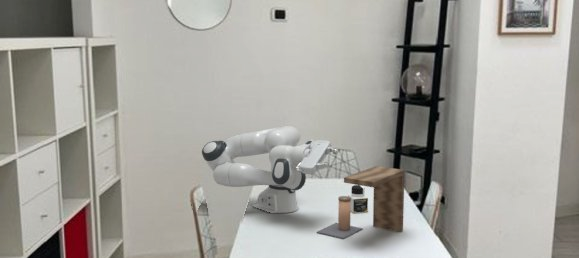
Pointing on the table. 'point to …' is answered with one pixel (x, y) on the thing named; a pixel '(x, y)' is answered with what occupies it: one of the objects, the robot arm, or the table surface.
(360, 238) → the table surface
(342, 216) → the terracotta jar
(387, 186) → the walnut stand
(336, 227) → the grey mat
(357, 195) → the medicine bottle
